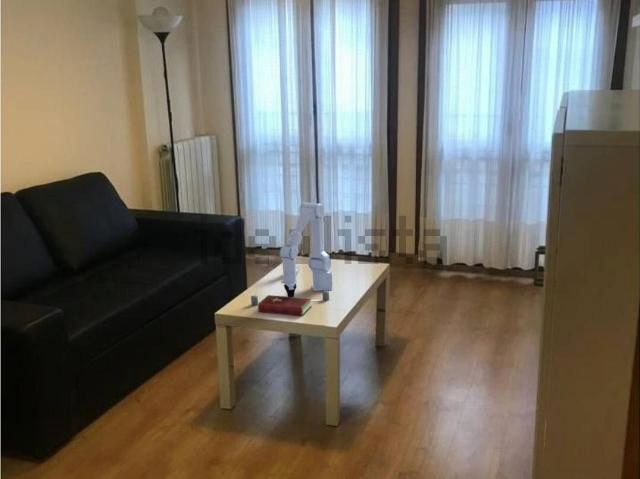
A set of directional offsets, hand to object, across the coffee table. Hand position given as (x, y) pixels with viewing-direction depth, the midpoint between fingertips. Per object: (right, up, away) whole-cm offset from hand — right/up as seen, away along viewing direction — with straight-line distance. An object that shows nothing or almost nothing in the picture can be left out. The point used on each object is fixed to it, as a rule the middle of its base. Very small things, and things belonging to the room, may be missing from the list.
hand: (290, 299), depth 300 cm
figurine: (-1, +8, +42) cm, 42 cm away
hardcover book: (-2, -4, -7) cm, 8 cm away
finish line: (0, -1, +3) cm, 3 cm away
